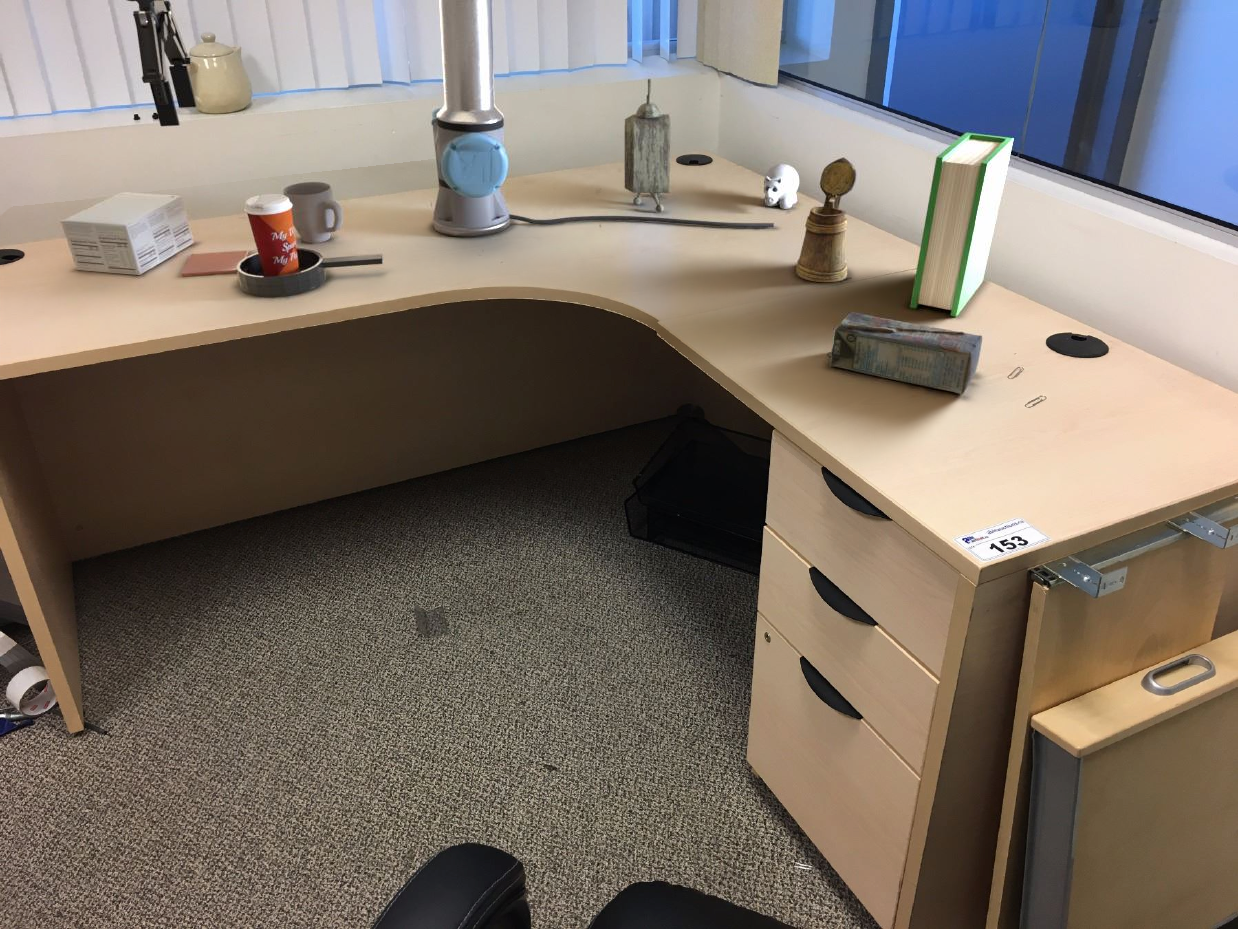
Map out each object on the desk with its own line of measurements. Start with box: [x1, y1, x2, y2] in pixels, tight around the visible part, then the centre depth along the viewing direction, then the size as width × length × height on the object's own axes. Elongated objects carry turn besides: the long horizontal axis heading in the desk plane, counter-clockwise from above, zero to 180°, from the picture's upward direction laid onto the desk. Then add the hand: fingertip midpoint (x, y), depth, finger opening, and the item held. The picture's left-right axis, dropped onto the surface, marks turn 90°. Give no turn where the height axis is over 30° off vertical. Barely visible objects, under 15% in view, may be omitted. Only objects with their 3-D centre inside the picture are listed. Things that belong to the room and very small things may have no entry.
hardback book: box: [909, 132, 1015, 318], centre depth 151 cm, size 18×7×24 cm, turn 149°
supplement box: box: [60, 191, 195, 276], centre depth 171 cm, size 17×13×9 cm
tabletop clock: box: [624, 78, 671, 213], centre depth 193 cm, size 14×9×25 cm, turn 179°
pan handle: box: [323, 253, 384, 269], centre depth 164 cm, size 10×2×1 cm, turn 101°
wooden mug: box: [795, 157, 857, 283], centre depth 163 cm, size 9×14×18 cm, turn 157°
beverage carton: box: [830, 311, 983, 395], centre depth 132 cm, size 8×19×7 cm, turn 61°
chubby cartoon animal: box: [763, 163, 800, 210], centre depth 195 cm, size 7×12×8 cm, turn 152°
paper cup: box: [243, 193, 299, 276], centre depth 159 cm, size 8×8×14 cm
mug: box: [282, 181, 344, 244], centre depth 179 cm, size 12×9×10 cm
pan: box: [236, 247, 327, 298], centre depth 162 cm, size 14×14×4 cm
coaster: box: [180, 250, 249, 277], centre depth 170 cm, size 10×10×1 cm
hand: (179, 116), depth 155 cm, fingers open, 13 cm apart
